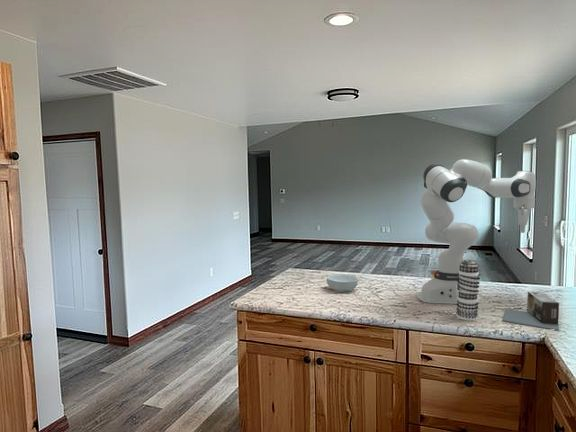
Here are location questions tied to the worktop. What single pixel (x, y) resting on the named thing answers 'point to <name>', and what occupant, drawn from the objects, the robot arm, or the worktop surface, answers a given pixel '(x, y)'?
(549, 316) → the coffee box
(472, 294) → the decorative candle
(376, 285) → the worktop surface
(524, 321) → the rubber mat
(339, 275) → the cereal bowl
